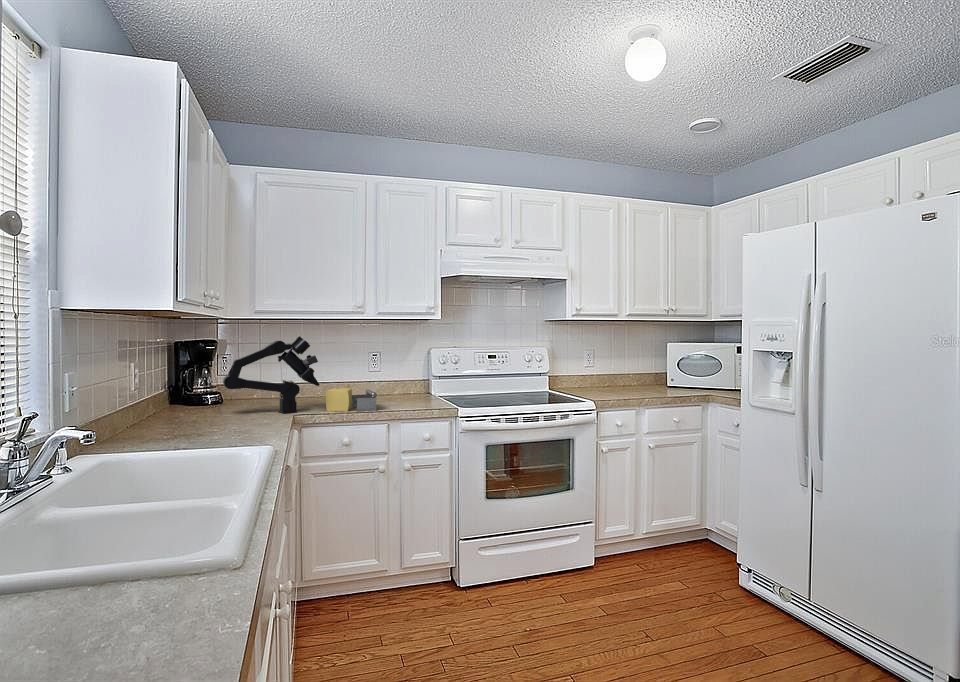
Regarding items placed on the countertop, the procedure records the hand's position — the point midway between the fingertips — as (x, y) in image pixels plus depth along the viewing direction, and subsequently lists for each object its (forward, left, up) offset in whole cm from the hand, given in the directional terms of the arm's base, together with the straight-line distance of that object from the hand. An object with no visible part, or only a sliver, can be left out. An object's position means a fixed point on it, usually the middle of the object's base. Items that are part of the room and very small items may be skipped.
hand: (318, 385), depth 274 cm
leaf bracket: (+20, -7, -12) cm, 24 cm away
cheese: (+9, -3, -12) cm, 16 cm away
